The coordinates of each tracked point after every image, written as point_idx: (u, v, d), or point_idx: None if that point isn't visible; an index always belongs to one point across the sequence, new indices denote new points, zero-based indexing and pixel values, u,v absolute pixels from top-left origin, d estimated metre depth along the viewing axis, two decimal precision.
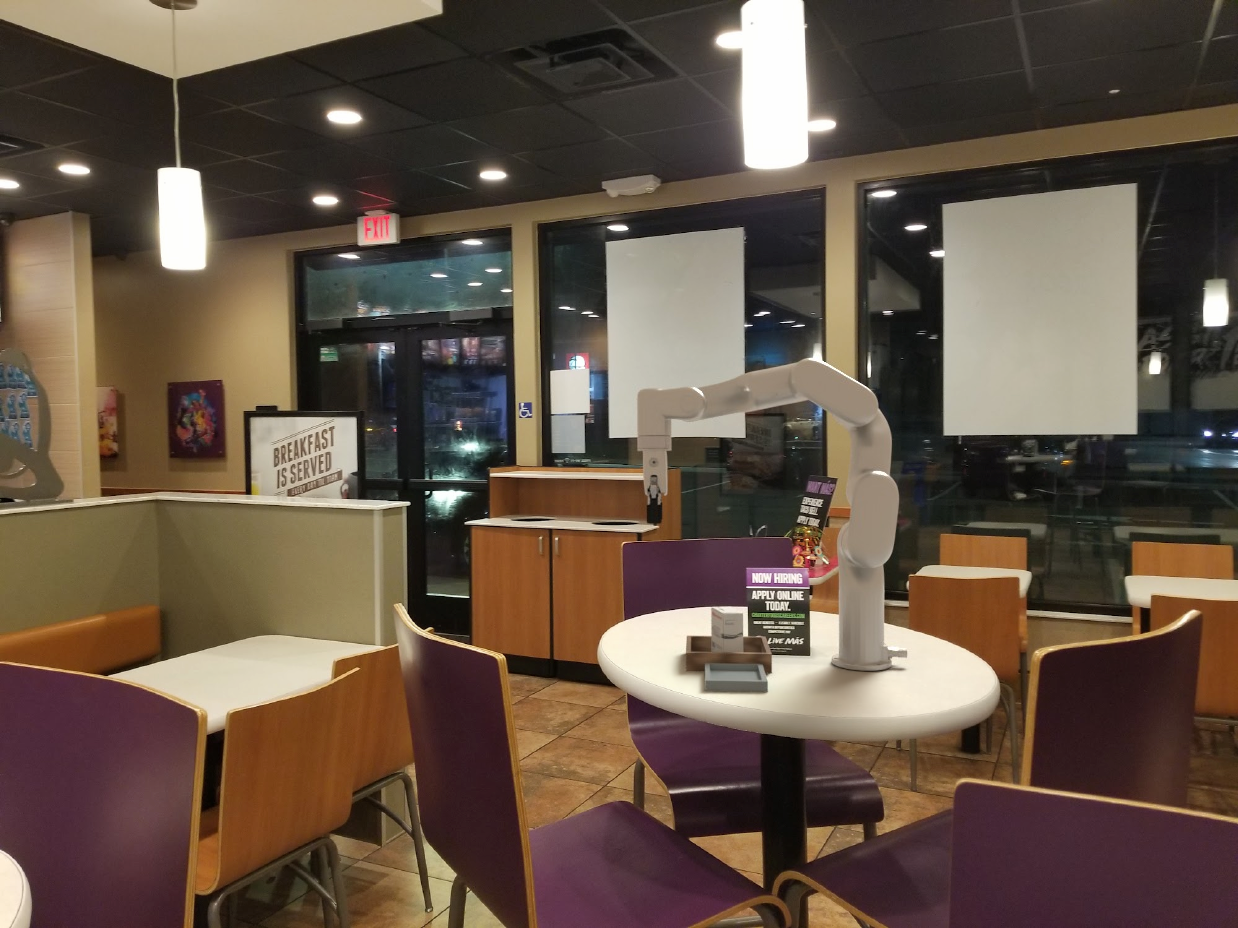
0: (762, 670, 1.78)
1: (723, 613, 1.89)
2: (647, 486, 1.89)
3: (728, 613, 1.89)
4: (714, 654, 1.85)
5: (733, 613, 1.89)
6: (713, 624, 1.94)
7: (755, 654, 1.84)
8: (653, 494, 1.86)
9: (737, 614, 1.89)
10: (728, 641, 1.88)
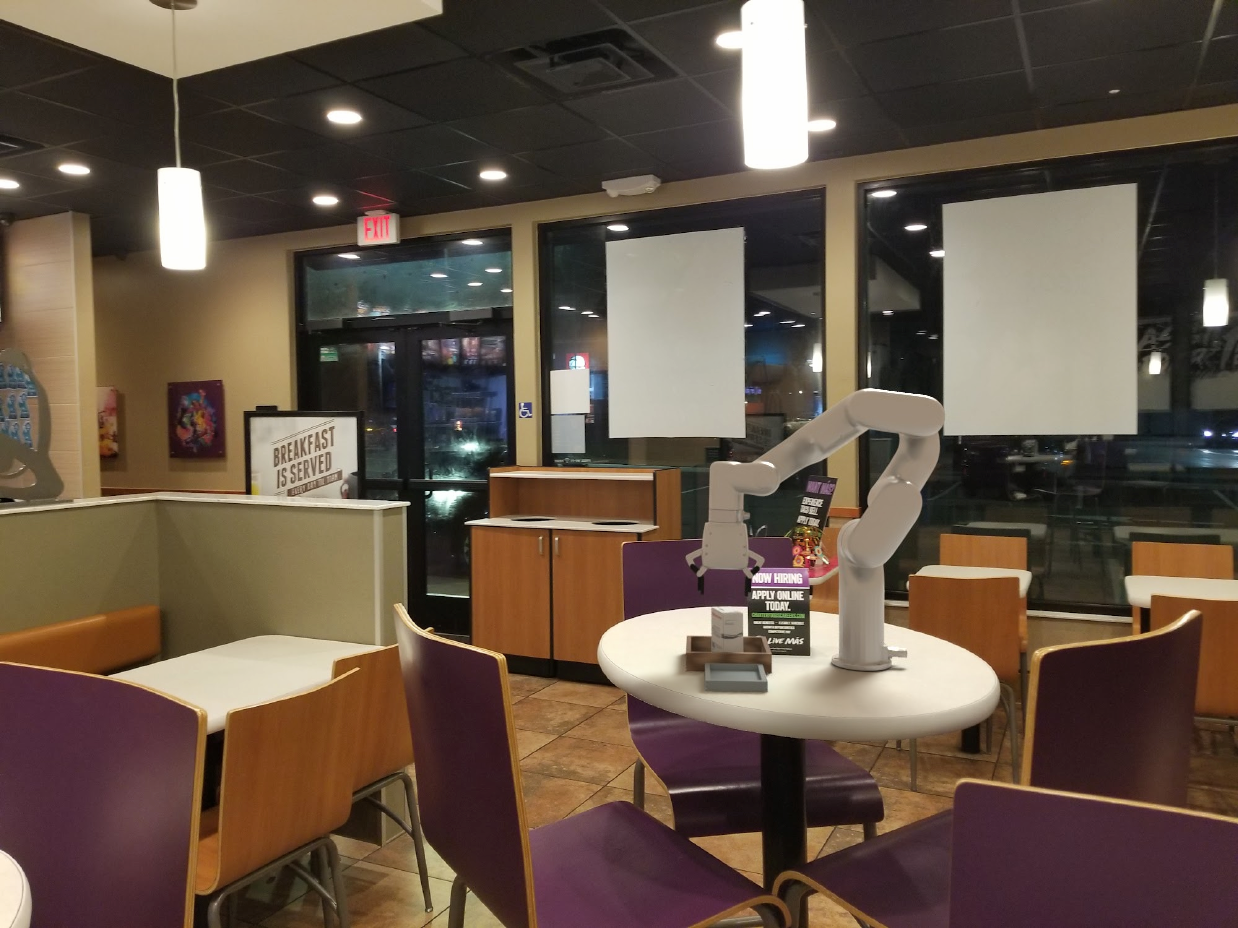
0: (762, 670, 1.78)
1: (723, 613, 1.89)
2: None
3: (728, 613, 1.89)
4: (714, 654, 1.85)
5: (733, 613, 1.89)
6: (713, 624, 1.94)
7: (755, 654, 1.84)
8: (760, 566, 1.92)
9: (737, 614, 1.89)
10: (728, 641, 1.88)
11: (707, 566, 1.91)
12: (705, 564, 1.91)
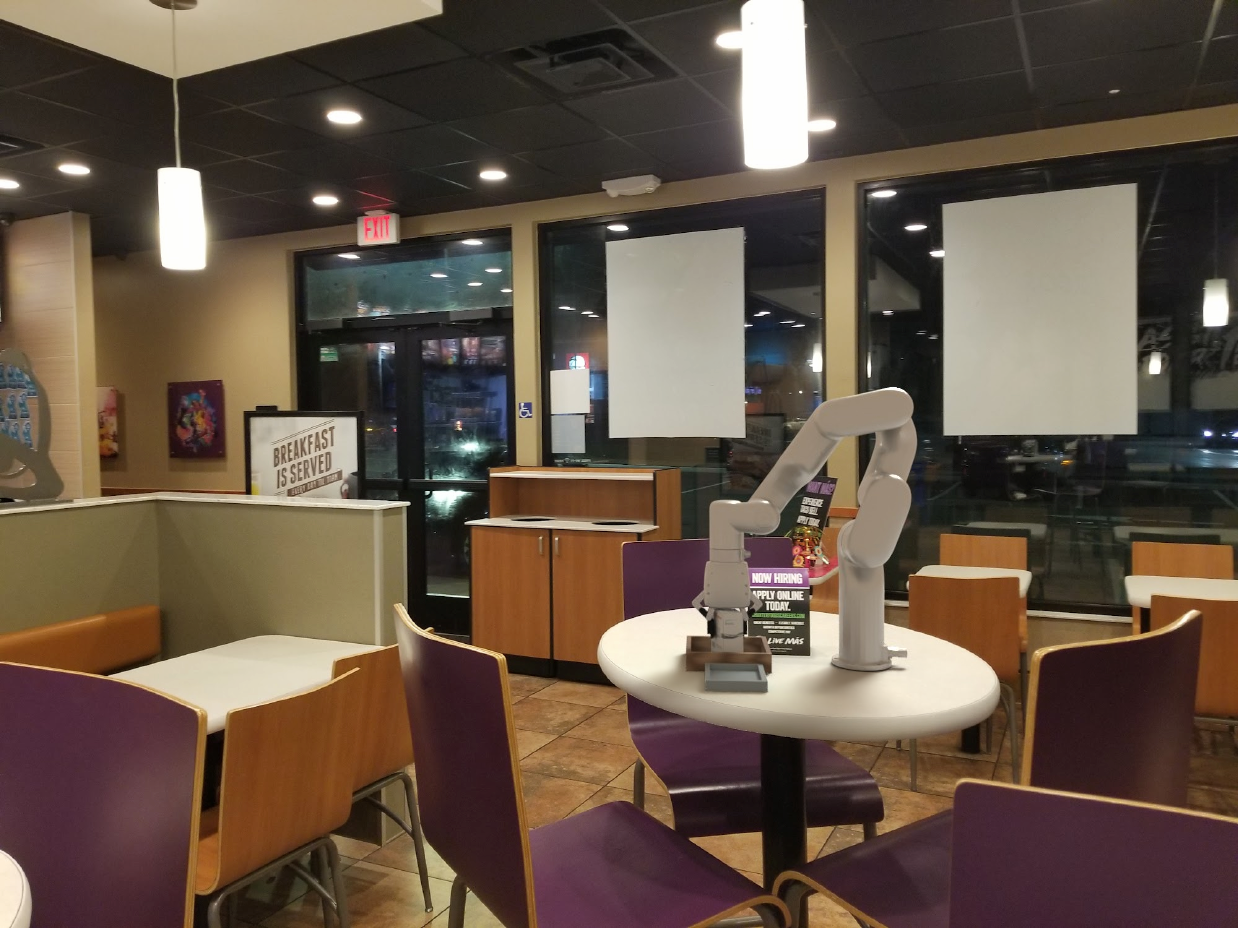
0: (762, 670, 1.78)
1: (723, 613, 1.89)
2: None
3: (728, 613, 1.89)
4: (714, 654, 1.85)
5: (733, 613, 1.89)
6: None
7: (755, 654, 1.84)
8: (756, 610, 1.92)
9: (737, 614, 1.89)
10: (728, 641, 1.88)
11: (709, 606, 1.91)
12: (707, 604, 1.91)
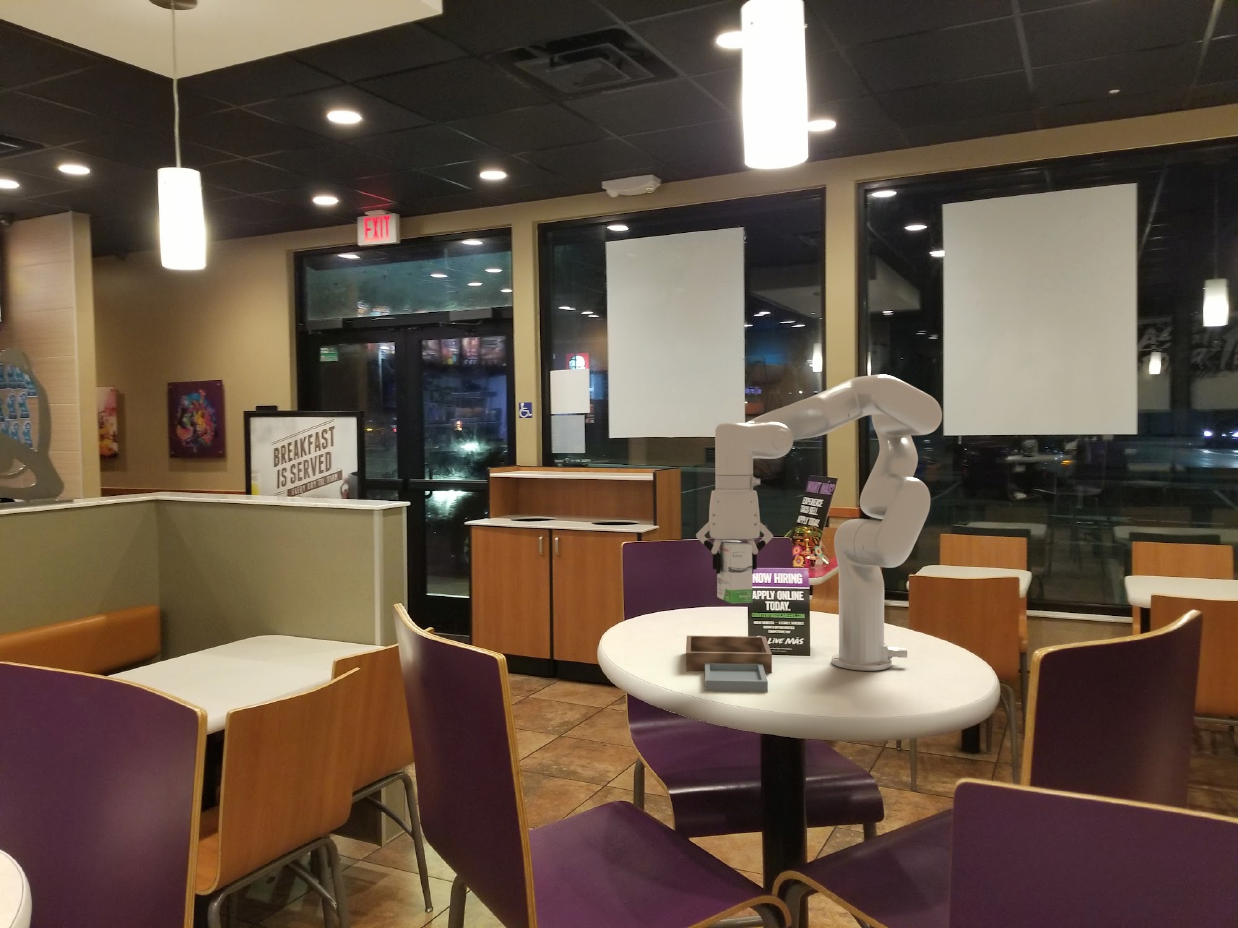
0: (762, 670, 1.78)
1: (730, 544, 1.72)
2: None
3: (736, 544, 1.73)
4: (714, 654, 1.85)
5: (741, 545, 1.73)
6: None
7: (755, 654, 1.84)
8: (766, 542, 1.76)
9: (745, 546, 1.73)
10: (736, 575, 1.72)
11: (715, 538, 1.75)
12: (713, 535, 1.75)
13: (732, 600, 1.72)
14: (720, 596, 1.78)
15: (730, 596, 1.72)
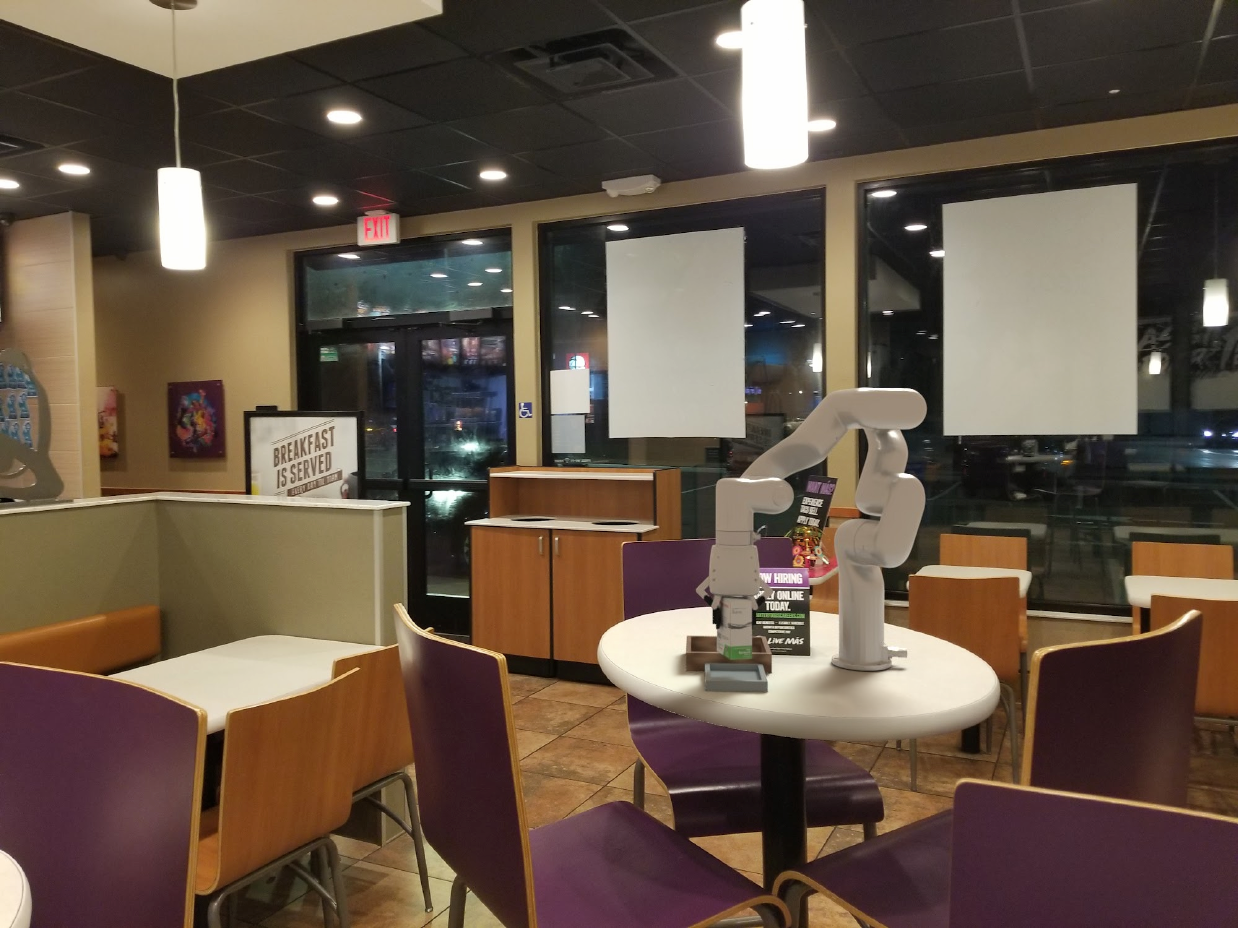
0: (762, 670, 1.78)
1: (730, 601, 1.73)
2: None
3: (735, 601, 1.73)
4: (714, 654, 1.85)
5: (741, 601, 1.73)
6: None
7: (755, 654, 1.84)
8: (766, 598, 1.76)
9: (745, 602, 1.73)
10: (736, 631, 1.72)
11: (715, 593, 1.75)
12: (713, 591, 1.75)
13: (731, 657, 1.72)
14: (720, 651, 1.78)
15: (730, 652, 1.72)
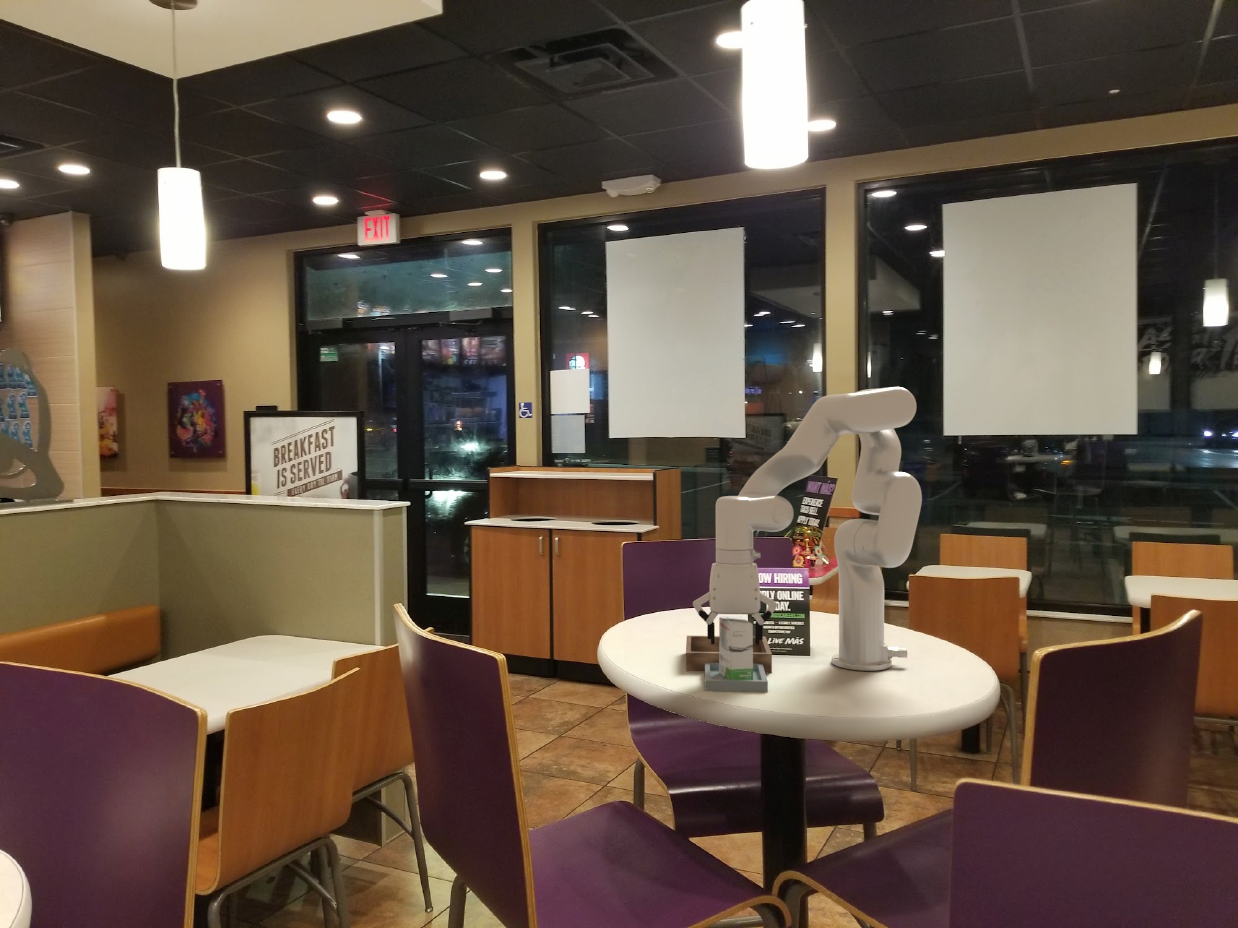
0: (762, 670, 1.78)
1: (731, 624, 1.73)
2: (759, 605, 1.75)
3: (736, 624, 1.73)
4: (714, 654, 1.85)
5: (742, 624, 1.73)
6: (721, 635, 1.79)
7: (755, 654, 1.84)
8: (772, 612, 1.76)
9: (746, 625, 1.73)
10: (736, 654, 1.73)
11: (715, 611, 1.75)
12: (713, 609, 1.75)
13: None
14: (721, 673, 1.78)
15: (730, 675, 1.73)
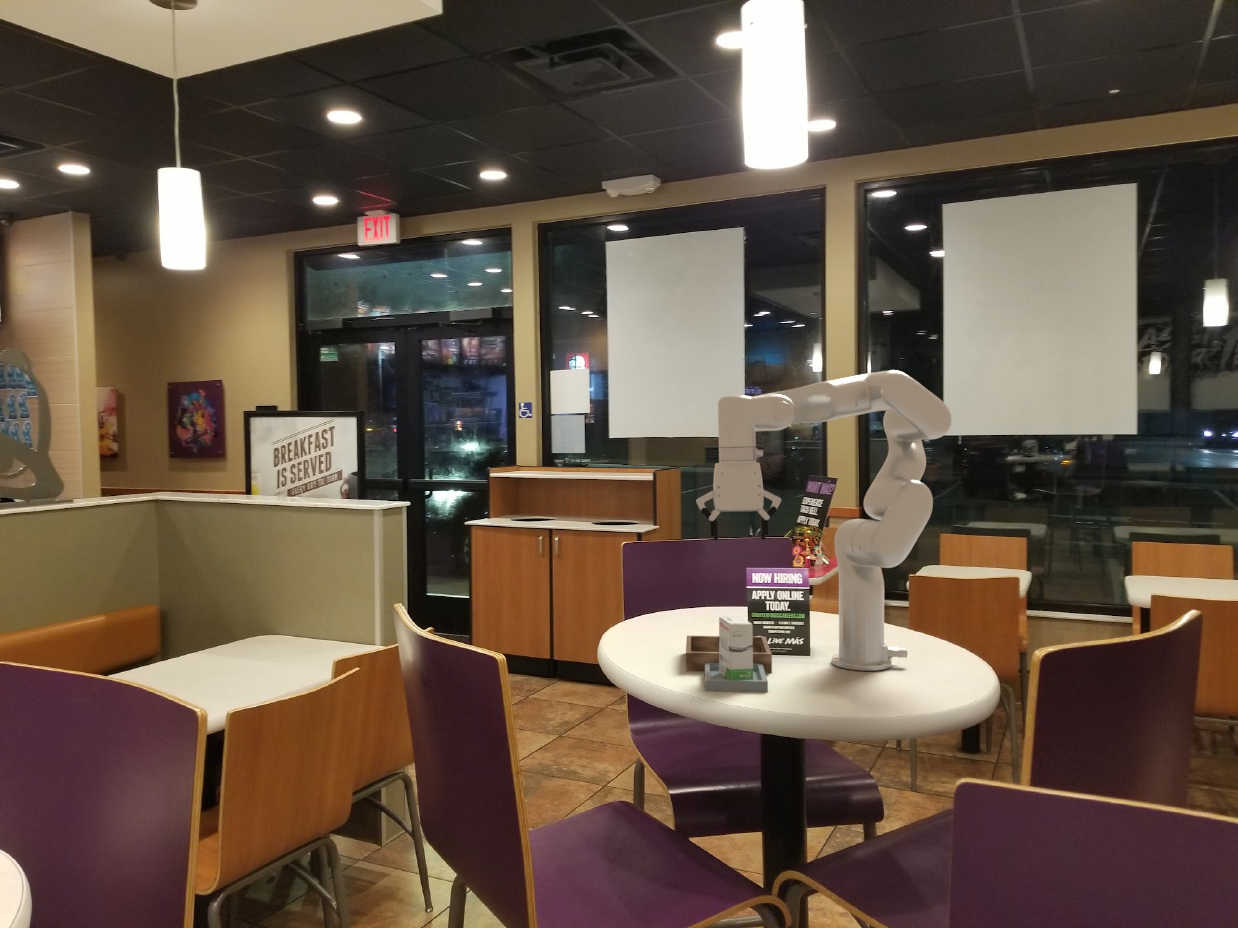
0: (762, 670, 1.78)
1: (730, 624, 1.73)
2: (763, 500, 1.77)
3: (736, 624, 1.73)
4: (714, 654, 1.85)
5: (741, 624, 1.73)
6: (721, 635, 1.79)
7: (755, 654, 1.84)
8: (777, 507, 1.79)
9: (746, 625, 1.73)
10: (736, 654, 1.73)
11: (720, 509, 1.78)
12: (718, 507, 1.78)
13: None
14: (721, 673, 1.78)
15: (730, 675, 1.73)
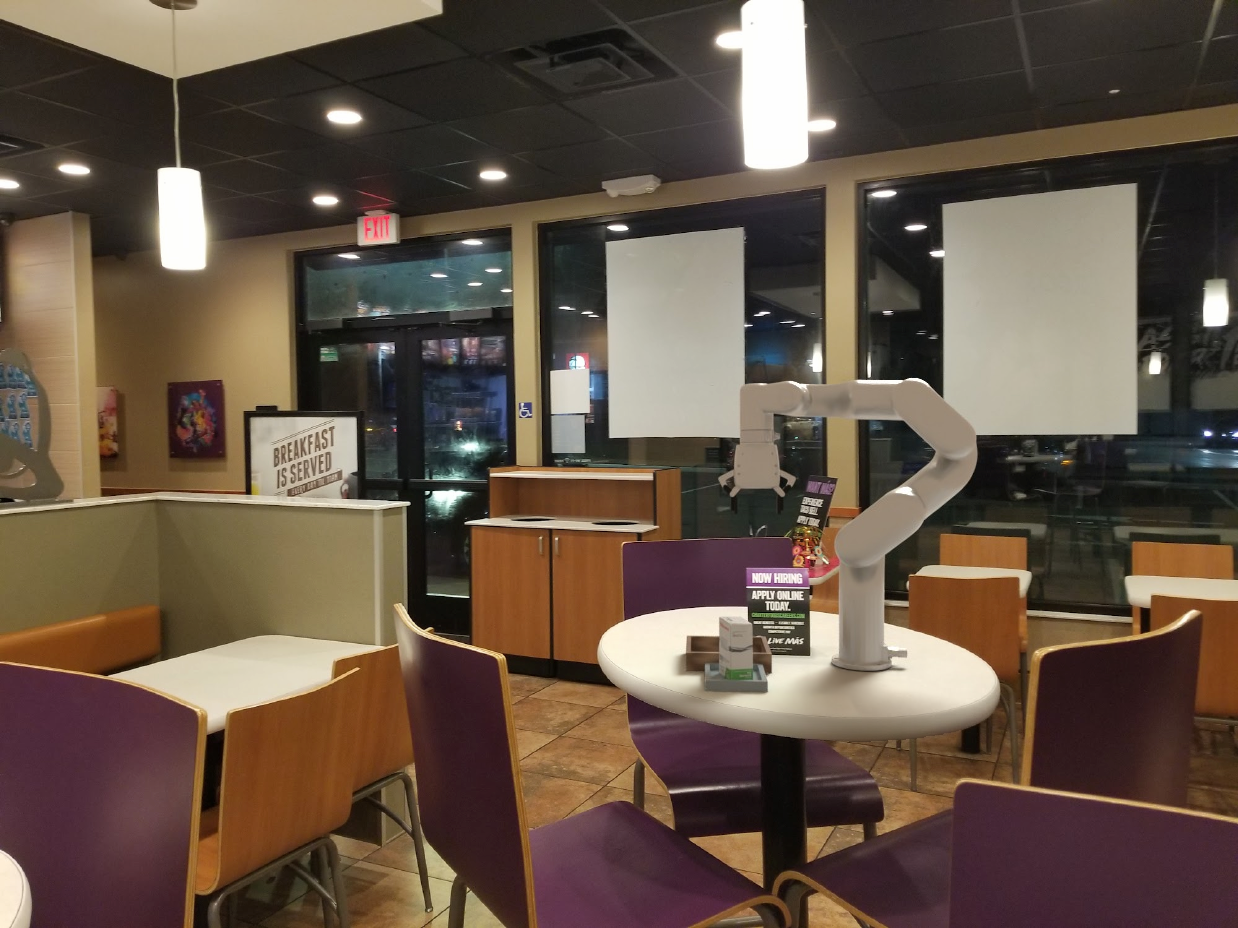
0: (762, 670, 1.78)
1: (730, 624, 1.73)
2: (779, 478, 1.96)
3: (736, 624, 1.73)
4: (714, 654, 1.85)
5: (741, 624, 1.73)
6: (721, 636, 1.79)
7: (755, 654, 1.84)
8: (792, 485, 1.97)
9: (746, 625, 1.73)
10: (736, 654, 1.73)
11: (740, 486, 1.96)
12: (738, 484, 1.96)
13: None
14: (721, 673, 1.78)
15: (730, 675, 1.73)
